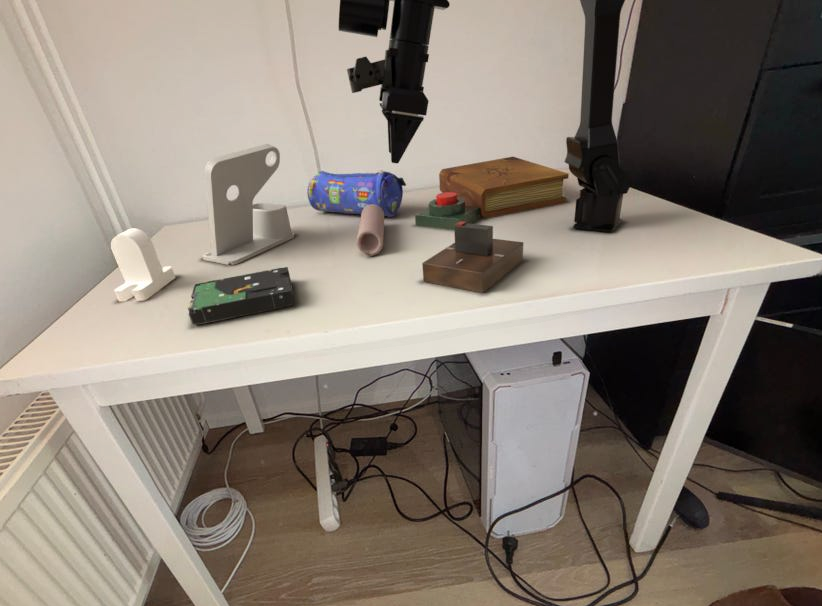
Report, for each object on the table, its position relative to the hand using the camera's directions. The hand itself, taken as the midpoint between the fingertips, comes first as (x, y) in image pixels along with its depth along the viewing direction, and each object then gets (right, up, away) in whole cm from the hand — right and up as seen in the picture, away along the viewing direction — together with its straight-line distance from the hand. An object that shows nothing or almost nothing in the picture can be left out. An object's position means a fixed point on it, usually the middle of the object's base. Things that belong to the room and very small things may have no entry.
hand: (393, 157), depth 78 cm
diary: (+24, +3, +29) cm, 38 cm away
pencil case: (-7, 0, +31) cm, 32 cm away
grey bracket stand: (-28, -10, +20) cm, 36 cm away
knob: (+12, -16, -5) cm, 21 cm away
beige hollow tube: (-4, -10, +15) cm, 18 cm away
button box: (+11, -5, +19) cm, 22 cm away
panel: (+12, -19, -3) cm, 23 cm away
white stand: (-42, -20, +6) cm, 47 cm away
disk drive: (-23, -24, -4) cm, 33 cm away
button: (+11, -2, +17) cm, 20 cm away
